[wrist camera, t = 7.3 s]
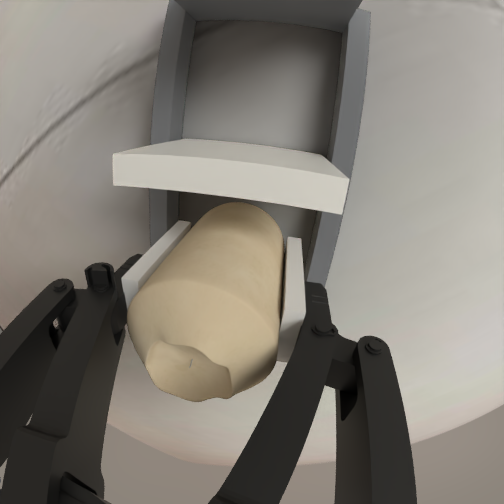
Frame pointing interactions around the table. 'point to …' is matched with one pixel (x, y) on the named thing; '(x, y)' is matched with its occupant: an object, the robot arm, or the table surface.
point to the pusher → (235, 172)
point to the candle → (213, 306)
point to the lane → (345, 111)
